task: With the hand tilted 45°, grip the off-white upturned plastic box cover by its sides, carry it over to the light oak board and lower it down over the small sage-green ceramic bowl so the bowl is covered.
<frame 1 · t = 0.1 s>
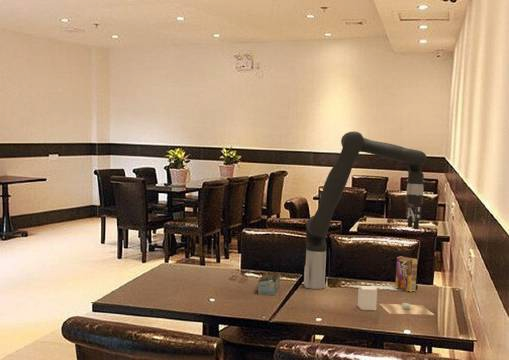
hand: (412, 228, 272), 29 cm above the table, tool pointing down, fingers open, 8 cm apart
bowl: (405, 309, 235), point 1 cm above the table, touching board
board: (405, 311, 235), on the table
candy box: (405, 290, 273), on the table
cover: (366, 309, 234), on the table
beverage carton: (268, 290, 262), on the table
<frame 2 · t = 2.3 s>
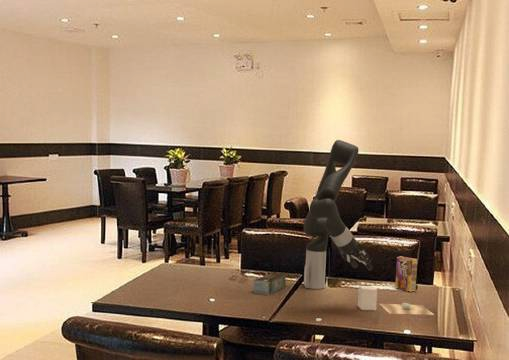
hand: (363, 268, 237), 16 cm above the table, tool tilted 40°, fingers open, 8 cm apart
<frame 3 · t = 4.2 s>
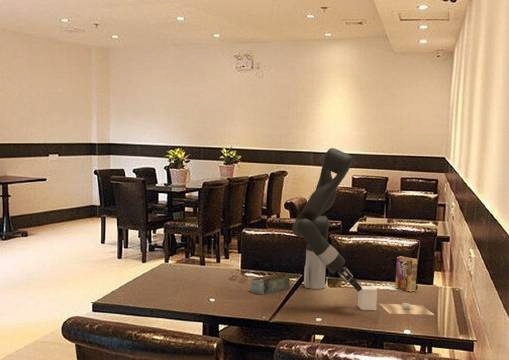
hand: (357, 287, 233), 9 cm above the table, tool tilted 45°, fingers open, 8 cm apart
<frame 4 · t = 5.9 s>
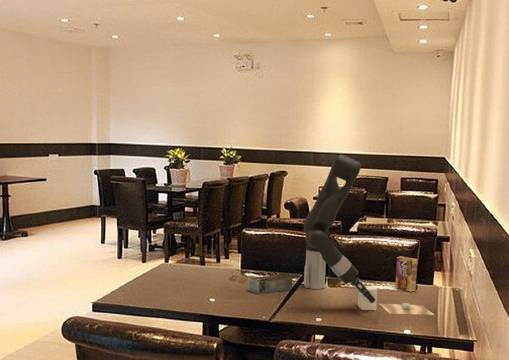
hand: (371, 299, 234), 4 cm above the table, tool tilted 45°, fingers closed on cover, 6 cm apart
cover: (366, 309, 234), on the table, touching gripper
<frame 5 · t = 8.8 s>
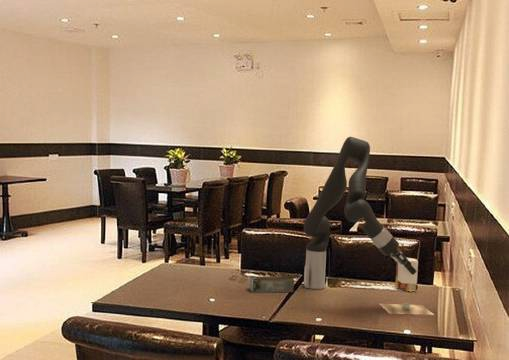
hand: (411, 271, 234), 16 cm above the table, tool tilted 45°, fingers closed on cover, 6 cm apart
cover: (407, 281, 234), point 12 cm above the table, touching gripper
when the fingers open (6 cm above the table, at t = 11.5 s): cover drops 1 cm, resting on board.
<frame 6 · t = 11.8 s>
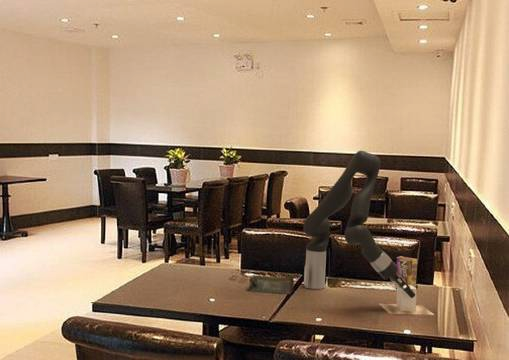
hand: (410, 294, 235), 7 cm above the table, tool tilted 45°, fingers open, 8 cm apart
cover: (405, 309, 235), point 1 cm above the table, touching board
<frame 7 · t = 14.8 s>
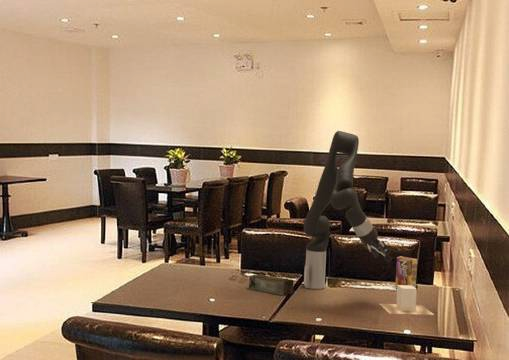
hand: (383, 258, 243), 19 cm above the table, tool tilted 40°, fingers open, 8 cm apart
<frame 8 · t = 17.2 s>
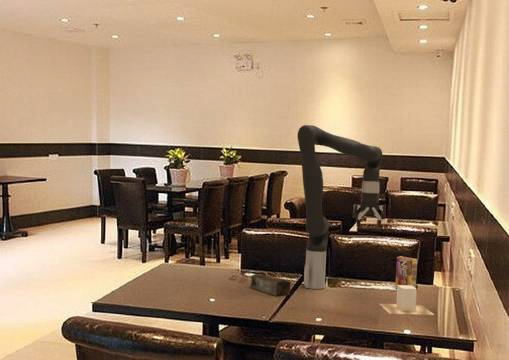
hand: (368, 228, 256), 30 cm above the table, tool pointing down, fingers open, 8 cm apart
at the end: cover inside the target area on the board (0.1 cm from its centre), point 0.8 cm above the board's base; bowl 0.1 cm from the cover (horizontally); cover tilted 0° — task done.
